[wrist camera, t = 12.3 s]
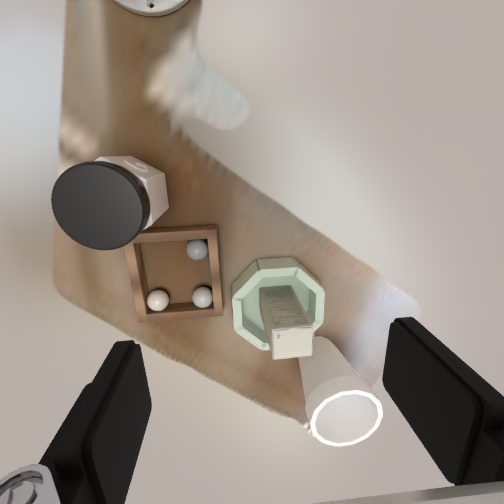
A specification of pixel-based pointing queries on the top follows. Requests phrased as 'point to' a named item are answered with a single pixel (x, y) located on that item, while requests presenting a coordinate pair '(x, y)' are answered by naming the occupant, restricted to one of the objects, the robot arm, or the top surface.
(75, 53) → the top surface
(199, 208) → the top surface
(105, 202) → the jar
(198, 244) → the pebble
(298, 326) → the box
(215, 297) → the tray
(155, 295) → the pebble
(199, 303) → the white ball
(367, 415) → the foam cup
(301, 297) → the bowl
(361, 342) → the top surface
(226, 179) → the top surface
